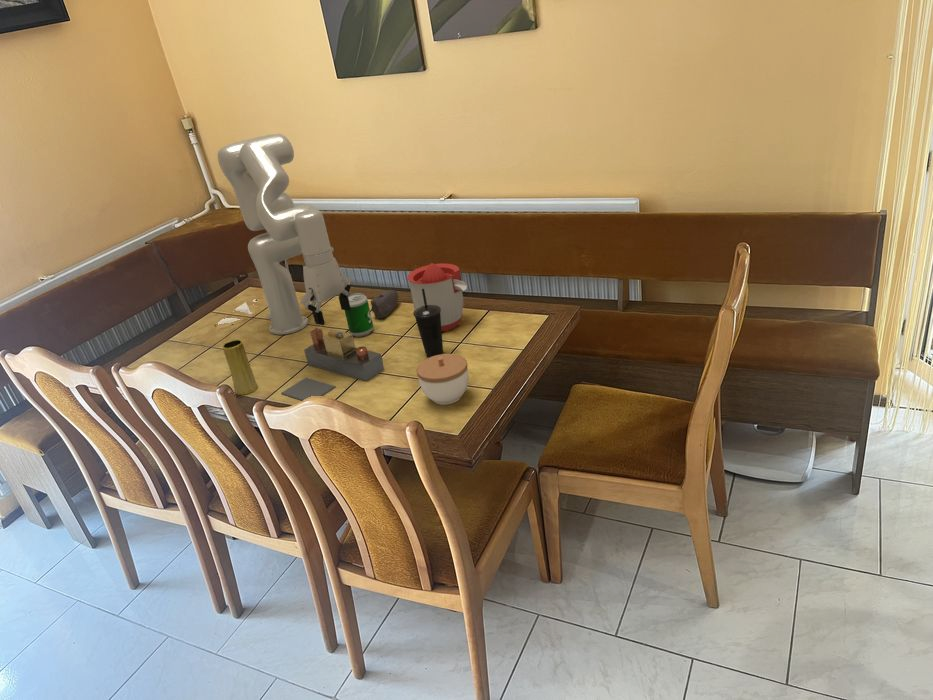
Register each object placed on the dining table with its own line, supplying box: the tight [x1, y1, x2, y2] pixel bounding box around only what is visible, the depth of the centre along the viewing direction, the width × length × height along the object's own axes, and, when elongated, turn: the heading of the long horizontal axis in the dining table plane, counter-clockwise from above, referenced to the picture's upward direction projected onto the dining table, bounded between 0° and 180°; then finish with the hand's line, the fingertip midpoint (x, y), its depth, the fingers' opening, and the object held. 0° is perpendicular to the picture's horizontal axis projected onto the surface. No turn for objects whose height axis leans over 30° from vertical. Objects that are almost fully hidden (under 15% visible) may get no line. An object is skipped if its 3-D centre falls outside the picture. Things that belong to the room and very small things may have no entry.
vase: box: [222, 339, 259, 396], centre depth 197 cm, size 6×6×14 cm
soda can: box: [343, 292, 374, 338], centre depth 221 cm, size 8×8×12 cm
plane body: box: [303, 327, 385, 382], centre depth 202 cm, size 24×7×10 cm, turn 53°
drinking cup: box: [412, 289, 444, 359], centre depth 198 cm, size 8×8×20 cm
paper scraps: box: [217, 298, 257, 325], centre depth 252 cm, size 26×14×2 cm, turn 149°
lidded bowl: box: [415, 353, 469, 406], centre depth 178 cm, size 13×13×11 cm
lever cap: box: [323, 330, 357, 358], centre depth 200 cm, size 7×5×6 cm
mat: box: [280, 377, 336, 402], centre depth 194 cm, size 12×9×1 cm
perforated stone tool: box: [370, 289, 399, 319], centre depth 234 cm, size 15×5×7 cm, turn 155°
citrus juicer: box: [407, 262, 468, 332], centre depth 216 cm, size 16×17×20 cm
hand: (333, 316), depth 197 cm, fingers open, 9 cm apart
